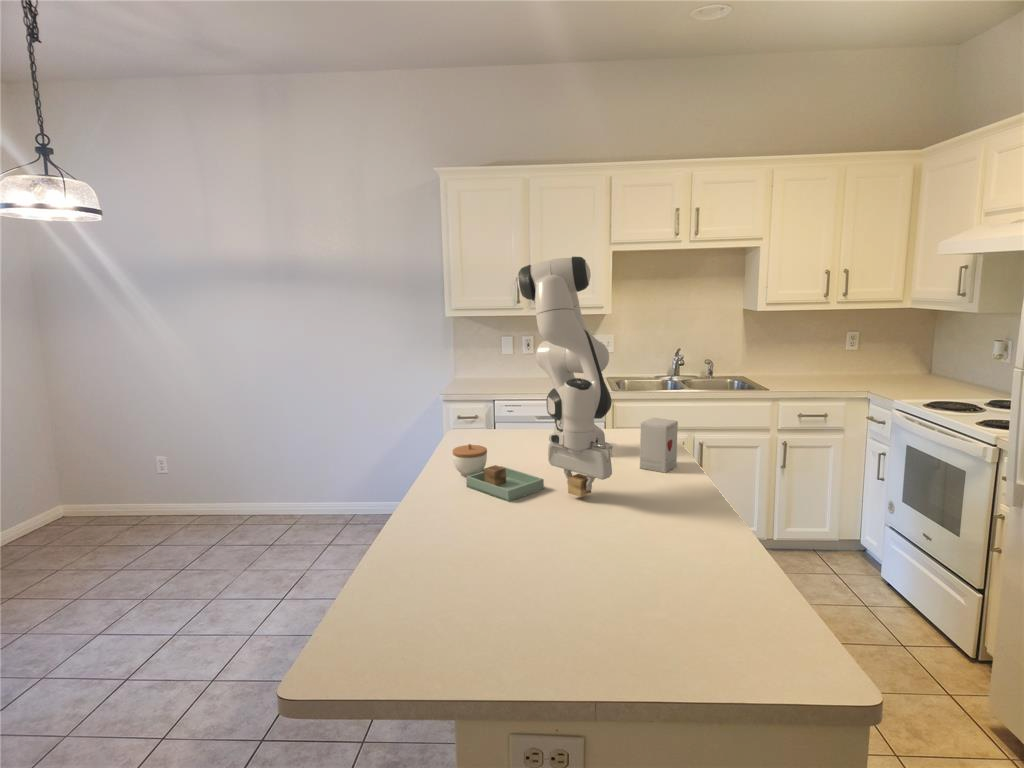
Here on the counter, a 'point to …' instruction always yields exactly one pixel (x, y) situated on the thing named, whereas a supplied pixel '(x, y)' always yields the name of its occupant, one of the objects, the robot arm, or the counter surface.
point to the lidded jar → (469, 459)
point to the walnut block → (495, 475)
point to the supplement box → (658, 444)
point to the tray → (507, 485)
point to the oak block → (577, 485)
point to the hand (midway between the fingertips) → (579, 487)
